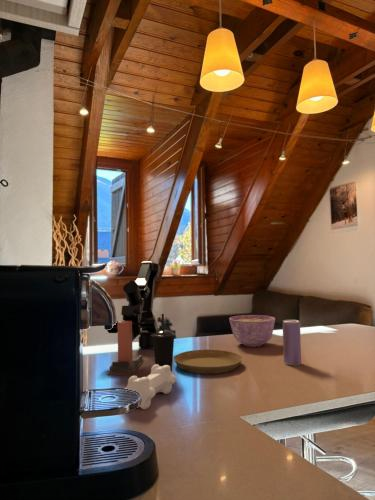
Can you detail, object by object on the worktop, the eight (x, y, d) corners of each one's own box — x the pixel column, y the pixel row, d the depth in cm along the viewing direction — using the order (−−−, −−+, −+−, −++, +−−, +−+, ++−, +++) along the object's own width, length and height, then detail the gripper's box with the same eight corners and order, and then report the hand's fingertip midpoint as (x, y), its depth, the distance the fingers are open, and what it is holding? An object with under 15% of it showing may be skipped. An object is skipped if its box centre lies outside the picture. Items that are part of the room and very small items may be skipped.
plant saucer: (247, 359, 139) (247, 350, 140) (235, 379, 117) (235, 368, 117) (186, 356, 147) (185, 347, 147) (163, 374, 124) (163, 363, 124)
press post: (121, 363, 132) (120, 320, 133) (134, 363, 132) (133, 320, 132) (116, 367, 127) (115, 322, 128) (130, 367, 127) (129, 322, 127)
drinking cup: (169, 381, 115) (167, 316, 116) (147, 378, 118) (146, 315, 119) (180, 374, 122) (178, 312, 123) (159, 372, 125) (158, 312, 126)
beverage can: (297, 366, 127) (296, 322, 128) (281, 364, 131) (279, 321, 131) (303, 362, 132) (302, 320, 133) (287, 360, 136) (286, 319, 136)
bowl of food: (225, 348, 157) (224, 321, 157) (234, 339, 176) (233, 314, 176) (274, 351, 151) (273, 322, 151) (278, 340, 170) (277, 315, 170)
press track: (122, 361, 139) (122, 351, 140) (143, 362, 139) (143, 351, 139) (108, 374, 124) (108, 362, 124) (131, 374, 123) (131, 362, 123)
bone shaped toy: (152, 391, 108) (149, 363, 109) (179, 392, 105) (176, 362, 105) (122, 410, 95) (119, 377, 95) (152, 411, 91) (148, 378, 92)
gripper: (105, 297, 139) (95, 332, 128) (155, 296, 137) (148, 332, 126) (113, 315, 147) (103, 350, 135) (159, 315, 144) (154, 350, 133)
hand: (127, 345), depth 132 cm, fingers closed, pressing on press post
